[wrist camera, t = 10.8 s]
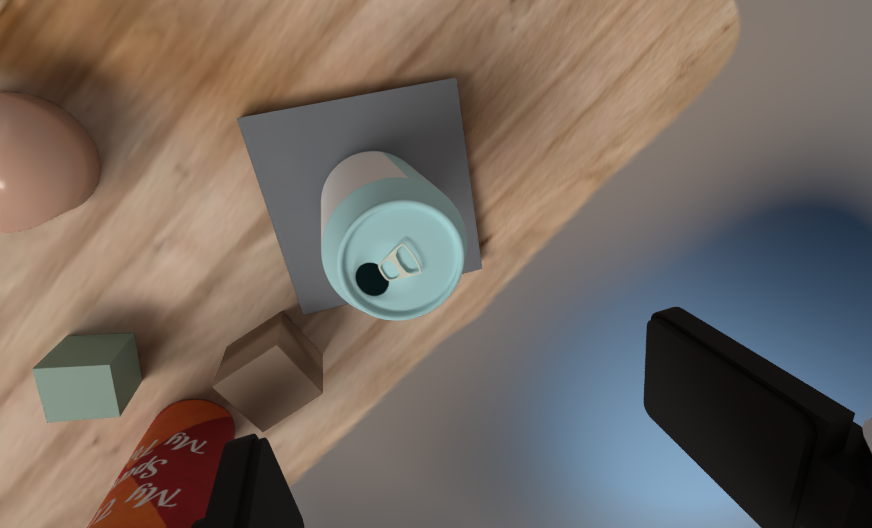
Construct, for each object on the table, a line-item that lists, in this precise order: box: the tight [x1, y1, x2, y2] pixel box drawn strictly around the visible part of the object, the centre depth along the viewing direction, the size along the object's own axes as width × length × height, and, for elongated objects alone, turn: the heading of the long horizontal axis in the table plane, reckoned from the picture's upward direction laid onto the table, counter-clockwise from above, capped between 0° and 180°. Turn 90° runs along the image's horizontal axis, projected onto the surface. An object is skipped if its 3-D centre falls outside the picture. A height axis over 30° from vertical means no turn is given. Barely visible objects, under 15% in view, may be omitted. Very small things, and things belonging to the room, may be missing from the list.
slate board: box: [237, 78, 482, 315], centre depth 31 cm, size 14×14×1 cm
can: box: [321, 151, 467, 321], centre depth 25 cm, size 7×7×12 cm
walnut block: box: [212, 311, 323, 432], centre depth 31 cm, size 5×5×5 cm
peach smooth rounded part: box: [0, 92, 100, 233], centre depth 24 cm, size 7×7×4 cm
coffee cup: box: [87, 399, 235, 528], centre depth 28 cm, size 8×8×15 cm
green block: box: [32, 333, 142, 423], centre depth 29 cm, size 4×4×4 cm
